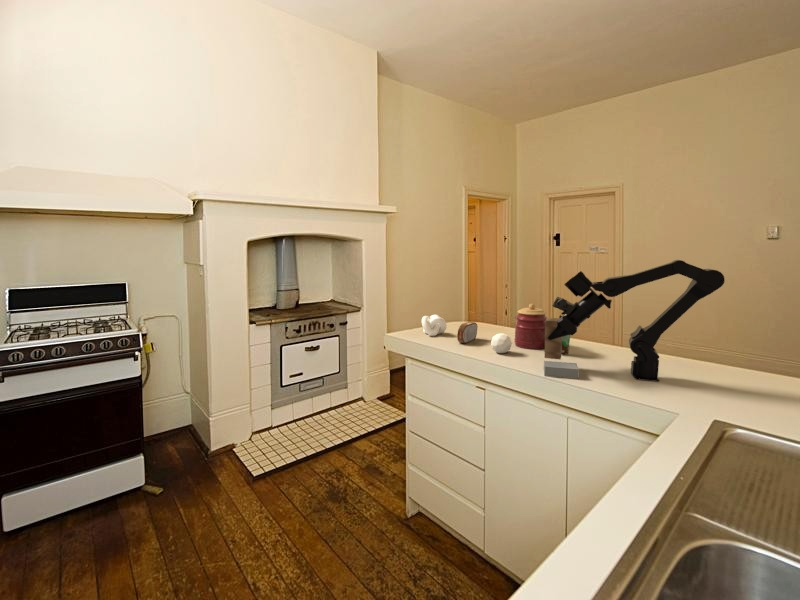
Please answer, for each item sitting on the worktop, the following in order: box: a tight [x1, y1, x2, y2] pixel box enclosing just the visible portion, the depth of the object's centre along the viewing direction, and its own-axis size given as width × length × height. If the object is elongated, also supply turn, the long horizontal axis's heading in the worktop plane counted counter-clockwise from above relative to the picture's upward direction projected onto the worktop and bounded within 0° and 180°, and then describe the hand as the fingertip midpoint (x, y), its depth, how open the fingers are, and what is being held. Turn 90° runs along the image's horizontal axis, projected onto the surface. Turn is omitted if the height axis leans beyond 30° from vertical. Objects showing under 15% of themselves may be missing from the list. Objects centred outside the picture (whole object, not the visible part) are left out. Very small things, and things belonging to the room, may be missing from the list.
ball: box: [490, 333, 513, 354], centre depth 157 cm, size 8×8×8 cm
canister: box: [514, 303, 548, 350], centre depth 167 cm, size 13×13×18 cm
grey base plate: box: [543, 360, 580, 380], centre depth 131 cm, size 10×7×3 cm
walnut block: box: [544, 317, 562, 360], centre depth 138 cm, size 5×5×13 cm
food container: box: [562, 335, 571, 355], centre depth 158 cm, size 12×6×10 cm, turn 168°
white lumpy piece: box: [421, 314, 448, 337], centre depth 190 cm, size 11×12×9 cm
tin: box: [456, 321, 479, 344], centre depth 176 cm, size 15×3×8 cm, turn 144°
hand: (549, 337), depth 138 cm, fingers closed on walnut block, 5 cm apart
